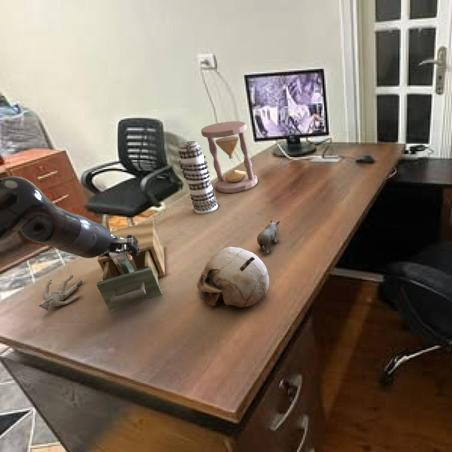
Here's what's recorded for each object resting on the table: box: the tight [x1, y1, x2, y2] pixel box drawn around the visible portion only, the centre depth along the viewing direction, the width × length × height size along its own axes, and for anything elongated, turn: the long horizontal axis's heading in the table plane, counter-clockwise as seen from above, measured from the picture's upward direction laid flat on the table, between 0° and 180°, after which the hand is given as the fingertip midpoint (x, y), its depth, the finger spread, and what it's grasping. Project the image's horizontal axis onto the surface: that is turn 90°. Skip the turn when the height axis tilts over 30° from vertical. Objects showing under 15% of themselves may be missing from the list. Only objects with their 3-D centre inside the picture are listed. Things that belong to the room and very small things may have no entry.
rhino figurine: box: [256, 219, 281, 255], centre depth 105 cm, size 4×14×6 cm, turn 167°
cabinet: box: [97, 220, 166, 278], centre depth 97 cm, size 16×13×10 cm
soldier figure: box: [38, 274, 83, 311], centre depth 89 cm, size 8×5×12 cm
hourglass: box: [200, 120, 259, 194], centre depth 145 cm, size 18×18×25 cm
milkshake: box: [109, 245, 138, 275], centre depth 85 cm, size 5×5×10 cm
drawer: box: [95, 249, 163, 312], centre depth 87 cm, size 19×12×8 cm, turn 25°
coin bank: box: [196, 246, 270, 309], centre depth 83 cm, size 16×17×13 cm
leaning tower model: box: [176, 140, 219, 214], centre depth 126 cm, size 9×9×25 cm
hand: (126, 253), depth 86 cm, fingers closed on milkshake, 4 cm apart
